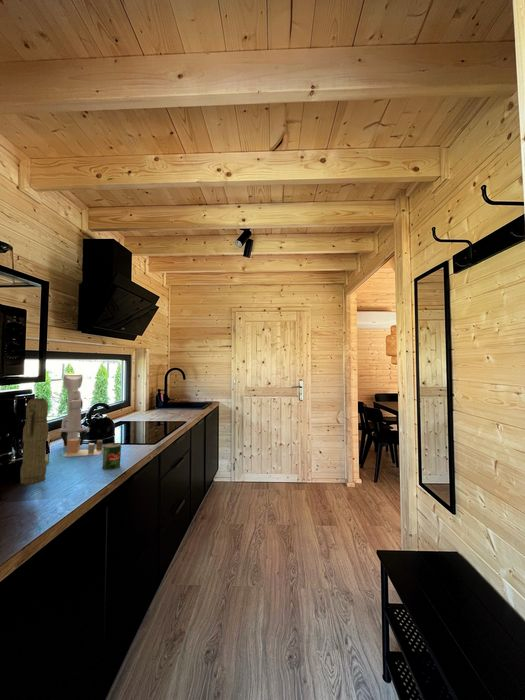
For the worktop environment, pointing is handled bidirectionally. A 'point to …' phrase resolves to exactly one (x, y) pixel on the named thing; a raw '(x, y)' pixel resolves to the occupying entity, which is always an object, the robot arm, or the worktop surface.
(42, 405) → the tan tall block
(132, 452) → the worktop surface
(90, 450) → the grey post
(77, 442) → the tan wooden block
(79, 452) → the board
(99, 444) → the walnut post
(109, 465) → the canned tomato
